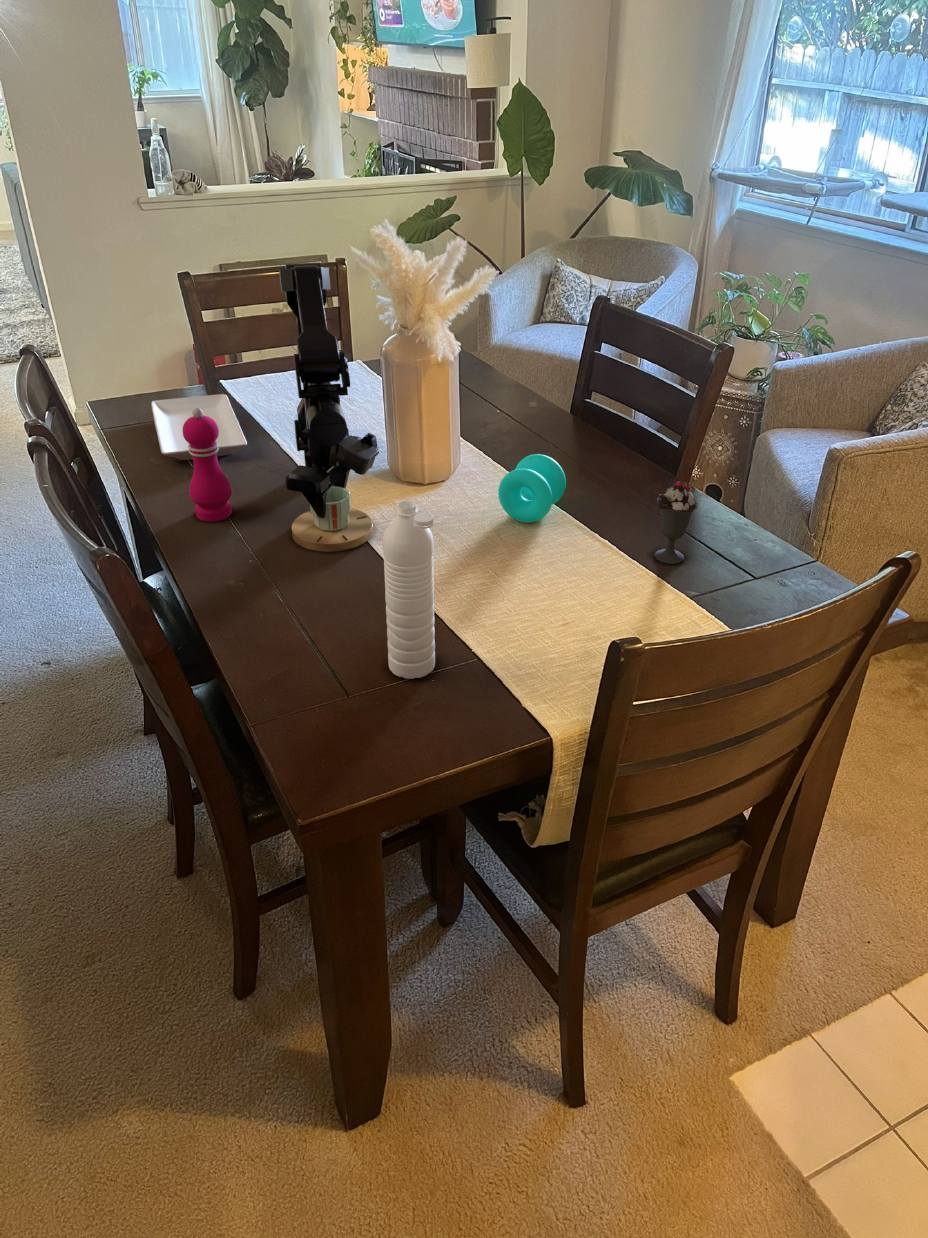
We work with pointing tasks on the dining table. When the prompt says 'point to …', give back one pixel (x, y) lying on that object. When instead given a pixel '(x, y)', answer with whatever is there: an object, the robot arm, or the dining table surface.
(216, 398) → the tray
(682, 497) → the sundae
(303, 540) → the turntable
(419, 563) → the water bottle
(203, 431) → the pepper mill
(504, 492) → the teal yo-yo
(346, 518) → the green cup
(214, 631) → the dining table surface
